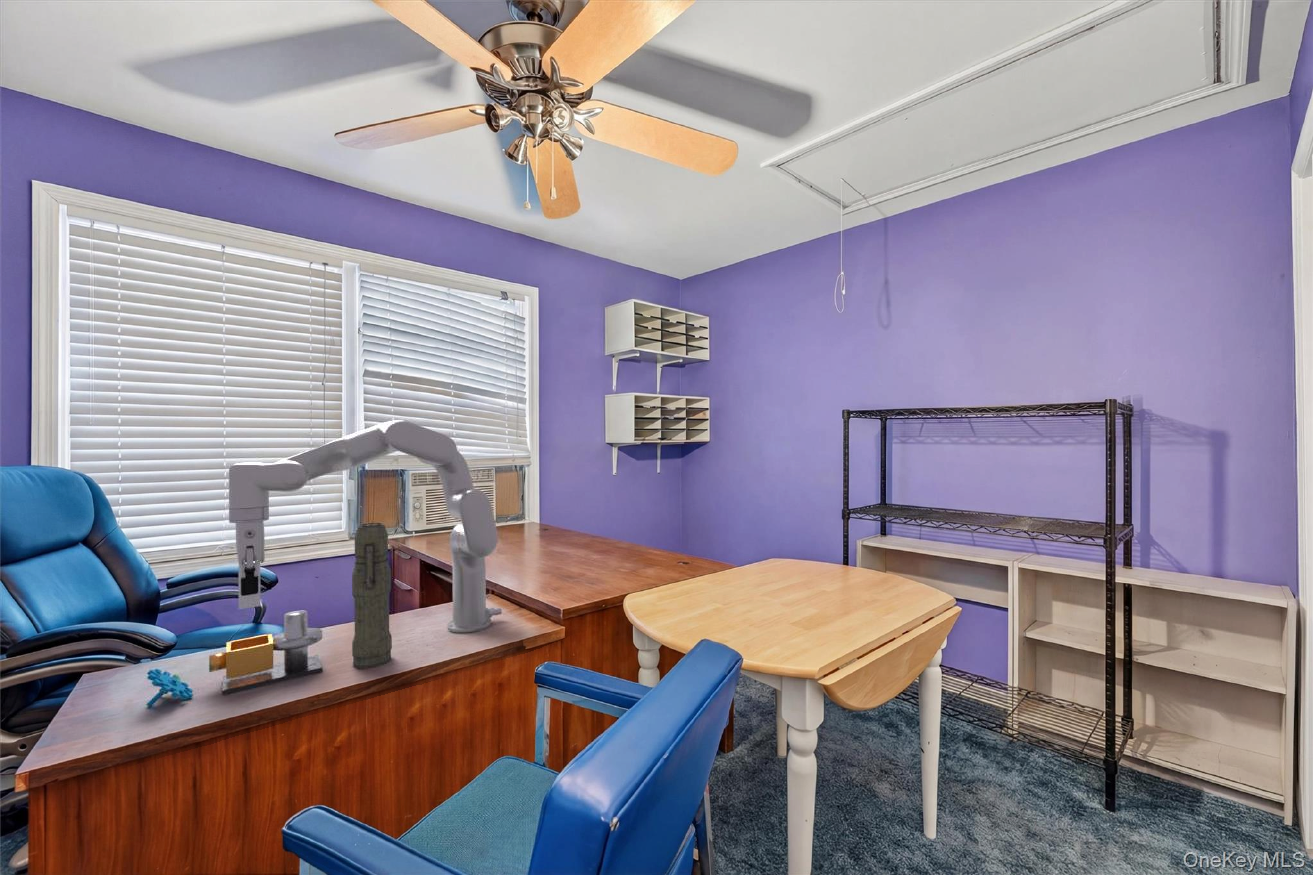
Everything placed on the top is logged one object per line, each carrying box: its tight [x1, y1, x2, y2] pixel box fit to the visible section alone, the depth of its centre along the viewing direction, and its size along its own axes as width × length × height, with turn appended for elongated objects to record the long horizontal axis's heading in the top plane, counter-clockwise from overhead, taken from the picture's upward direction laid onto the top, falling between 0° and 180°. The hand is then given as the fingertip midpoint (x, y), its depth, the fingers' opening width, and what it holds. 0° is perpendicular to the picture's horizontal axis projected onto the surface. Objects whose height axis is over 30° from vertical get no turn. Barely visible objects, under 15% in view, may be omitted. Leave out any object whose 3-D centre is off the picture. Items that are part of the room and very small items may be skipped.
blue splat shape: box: [146, 668, 194, 708], centre depth 115 cm, size 11×6×10 cm
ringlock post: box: [208, 609, 324, 696], centre depth 127 cm, size 22×11×14 cm, turn 128°
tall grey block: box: [238, 560, 261, 610], centre depth 125 cm, size 4×4×10 cm
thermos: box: [351, 522, 393, 669], centre depth 135 cm, size 9×12×35 cm
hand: (249, 591), depth 125 cm, fingers closed on tall grey block, 3 cm apart
